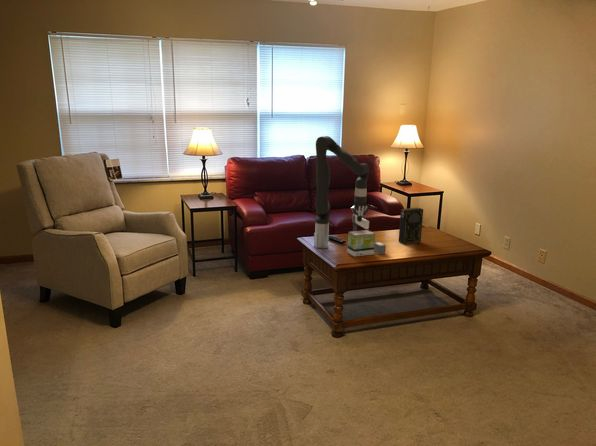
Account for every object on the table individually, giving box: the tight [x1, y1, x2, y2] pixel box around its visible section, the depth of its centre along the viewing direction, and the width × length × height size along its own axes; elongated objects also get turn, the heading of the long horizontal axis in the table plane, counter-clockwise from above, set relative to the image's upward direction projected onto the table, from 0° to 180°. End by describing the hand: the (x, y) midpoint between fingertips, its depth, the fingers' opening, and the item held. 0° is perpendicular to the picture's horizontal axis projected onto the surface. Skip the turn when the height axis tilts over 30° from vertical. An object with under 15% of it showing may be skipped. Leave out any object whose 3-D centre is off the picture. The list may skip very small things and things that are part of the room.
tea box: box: [346, 229, 376, 258], centre depth 305 cm, size 15×10×15 cm, turn 114°
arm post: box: [352, 222, 358, 231], centre depth 315 cm, size 6×6×18 cm
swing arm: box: [351, 213, 370, 230], centre depth 304 cm, size 4×21×5 cm, turn 17°
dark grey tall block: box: [398, 207, 424, 245], centre depth 330 cm, size 16×9×25 cm, turn 113°
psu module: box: [374, 241, 387, 255], centre depth 309 cm, size 5×8×6 cm, turn 17°
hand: (359, 221), depth 299 cm, fingers closed
